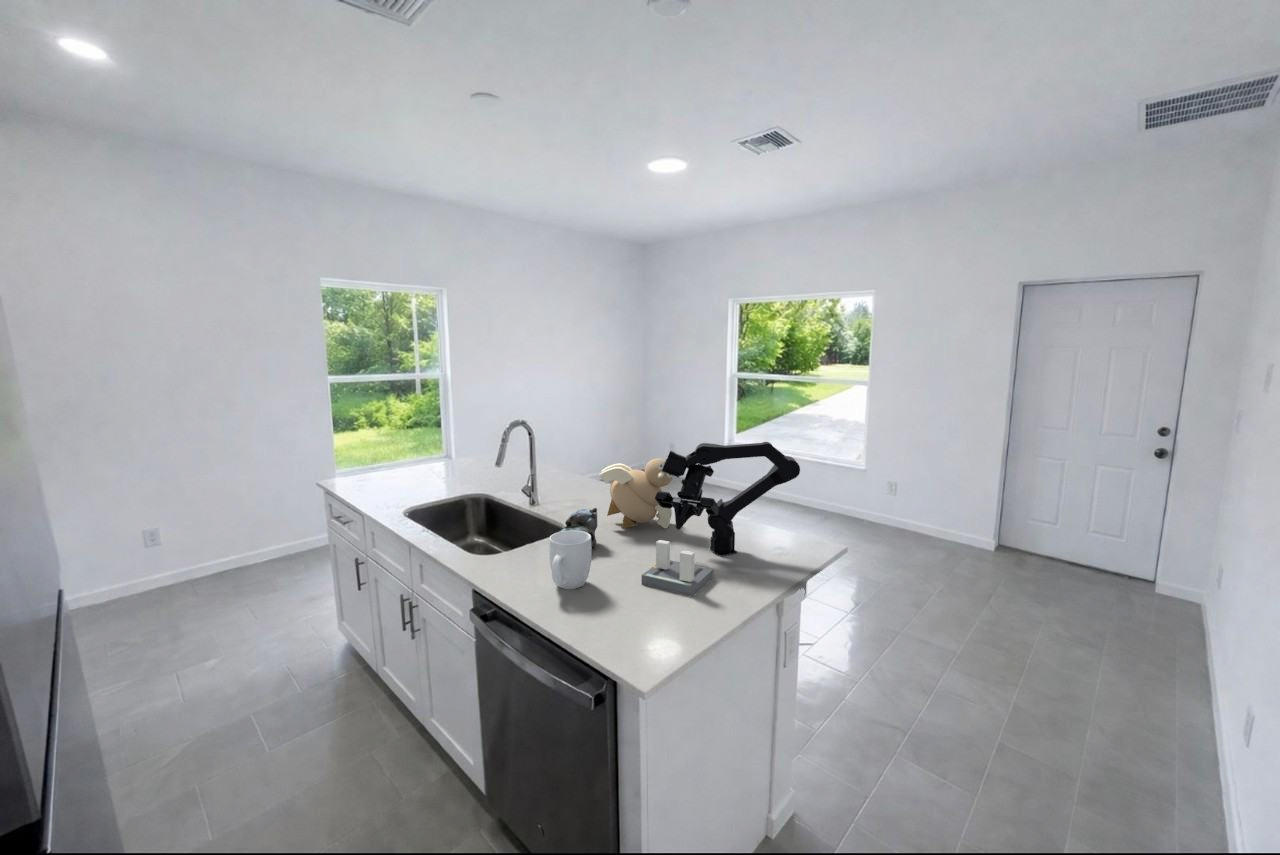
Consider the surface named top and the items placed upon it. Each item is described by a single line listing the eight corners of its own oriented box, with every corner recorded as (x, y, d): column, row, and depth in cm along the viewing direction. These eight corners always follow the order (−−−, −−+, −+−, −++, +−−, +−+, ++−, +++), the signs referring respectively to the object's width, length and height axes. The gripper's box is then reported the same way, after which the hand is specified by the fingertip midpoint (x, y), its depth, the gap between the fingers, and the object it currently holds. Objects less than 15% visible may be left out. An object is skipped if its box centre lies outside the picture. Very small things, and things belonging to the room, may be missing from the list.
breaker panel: (664, 567, 154) (664, 558, 154) (713, 577, 147) (713, 568, 146) (641, 583, 143) (641, 574, 143) (693, 596, 136) (693, 586, 135)
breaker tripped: (659, 564, 148) (659, 539, 147) (669, 567, 147) (670, 541, 146) (656, 567, 147) (656, 542, 146) (666, 569, 145) (666, 544, 144)
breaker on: (682, 576, 140) (683, 550, 139) (694, 579, 139) (694, 552, 138) (679, 579, 139) (679, 552, 138) (690, 582, 137) (691, 555, 136)
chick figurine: (635, 437, 177) (636, 428, 199) (579, 499, 180) (587, 483, 202) (702, 496, 179) (696, 481, 201) (646, 557, 182) (646, 535, 205)
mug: (575, 602, 132) (574, 551, 130) (535, 596, 136) (533, 546, 134) (598, 578, 146) (597, 532, 145) (561, 573, 150) (560, 528, 148)
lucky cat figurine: (546, 545, 172) (556, 502, 176) (579, 553, 178) (587, 511, 182) (568, 544, 160) (578, 499, 164) (602, 553, 166) (611, 509, 170)
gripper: (729, 499, 164) (715, 546, 156) (674, 492, 173) (658, 536, 165) (719, 480, 156) (704, 529, 148) (662, 473, 165) (645, 519, 157)
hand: (677, 528), depth 155 cm, fingers closed
